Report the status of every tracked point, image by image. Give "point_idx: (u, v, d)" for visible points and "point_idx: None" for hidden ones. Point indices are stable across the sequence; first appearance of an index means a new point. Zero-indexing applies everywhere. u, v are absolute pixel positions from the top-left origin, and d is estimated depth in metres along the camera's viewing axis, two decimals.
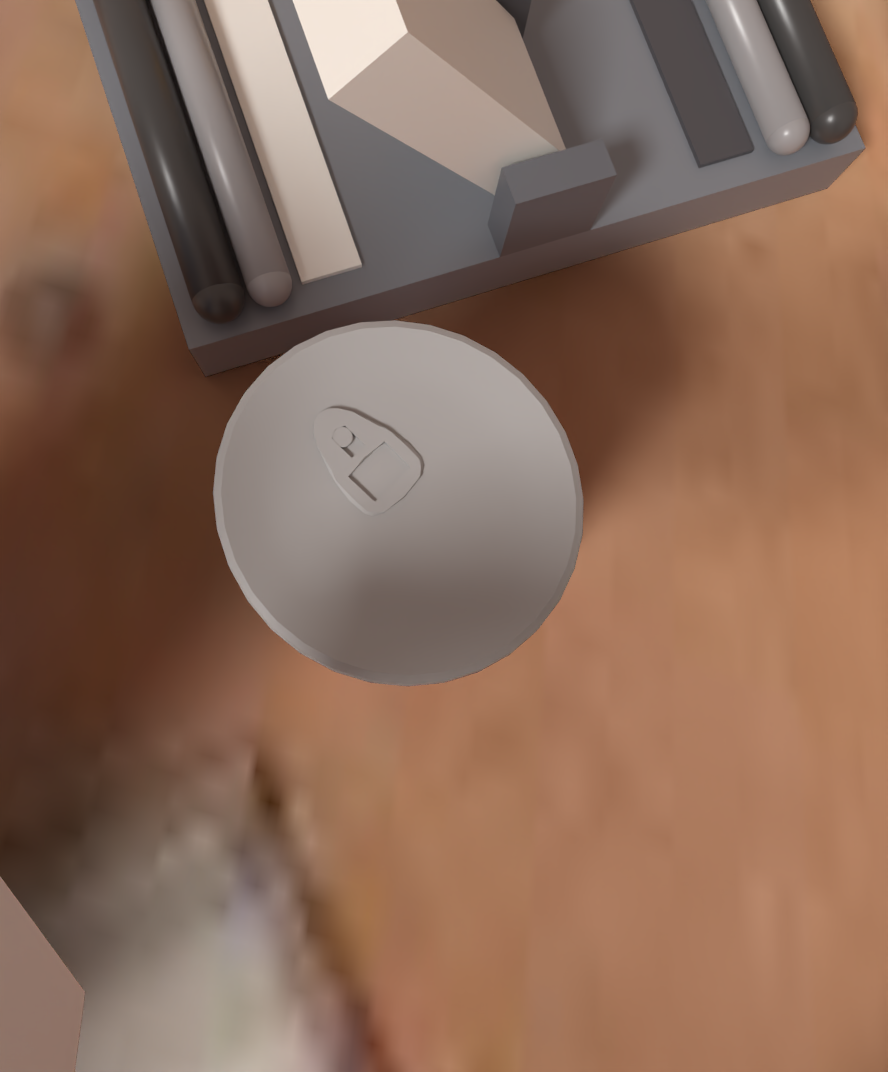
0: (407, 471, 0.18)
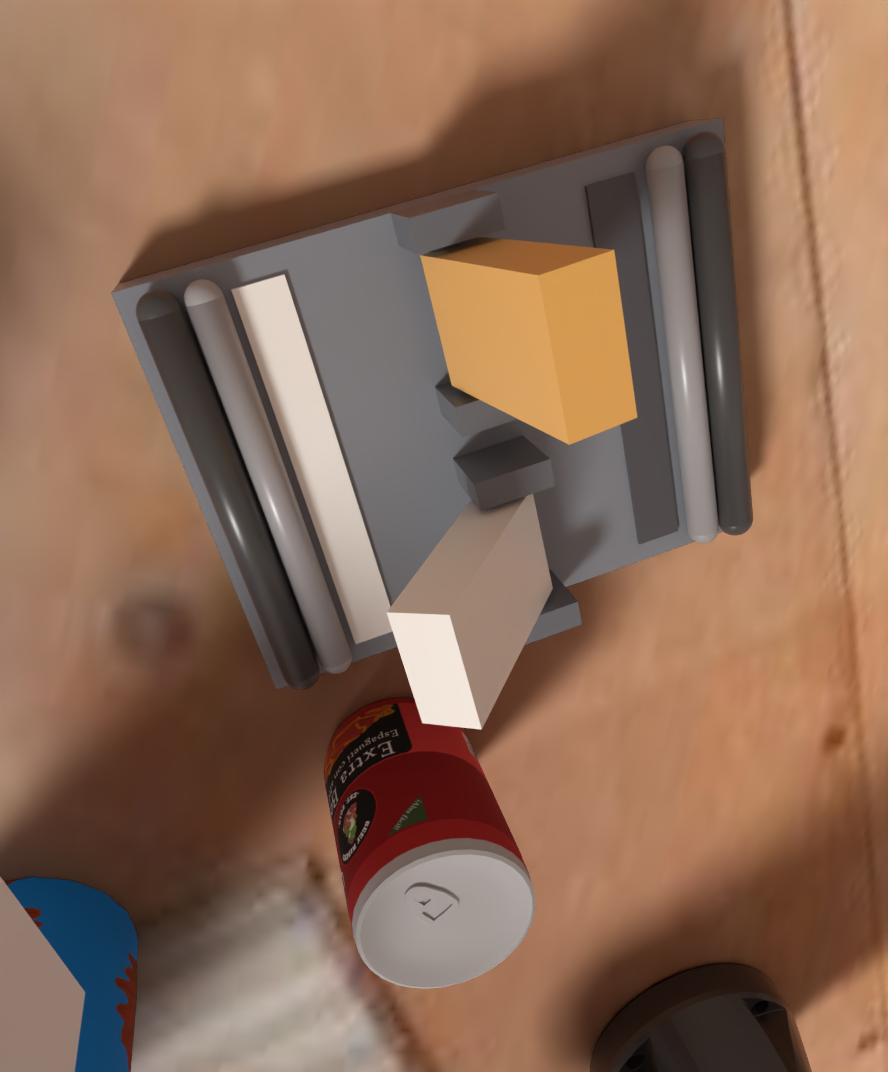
0: (451, 906, 0.34)
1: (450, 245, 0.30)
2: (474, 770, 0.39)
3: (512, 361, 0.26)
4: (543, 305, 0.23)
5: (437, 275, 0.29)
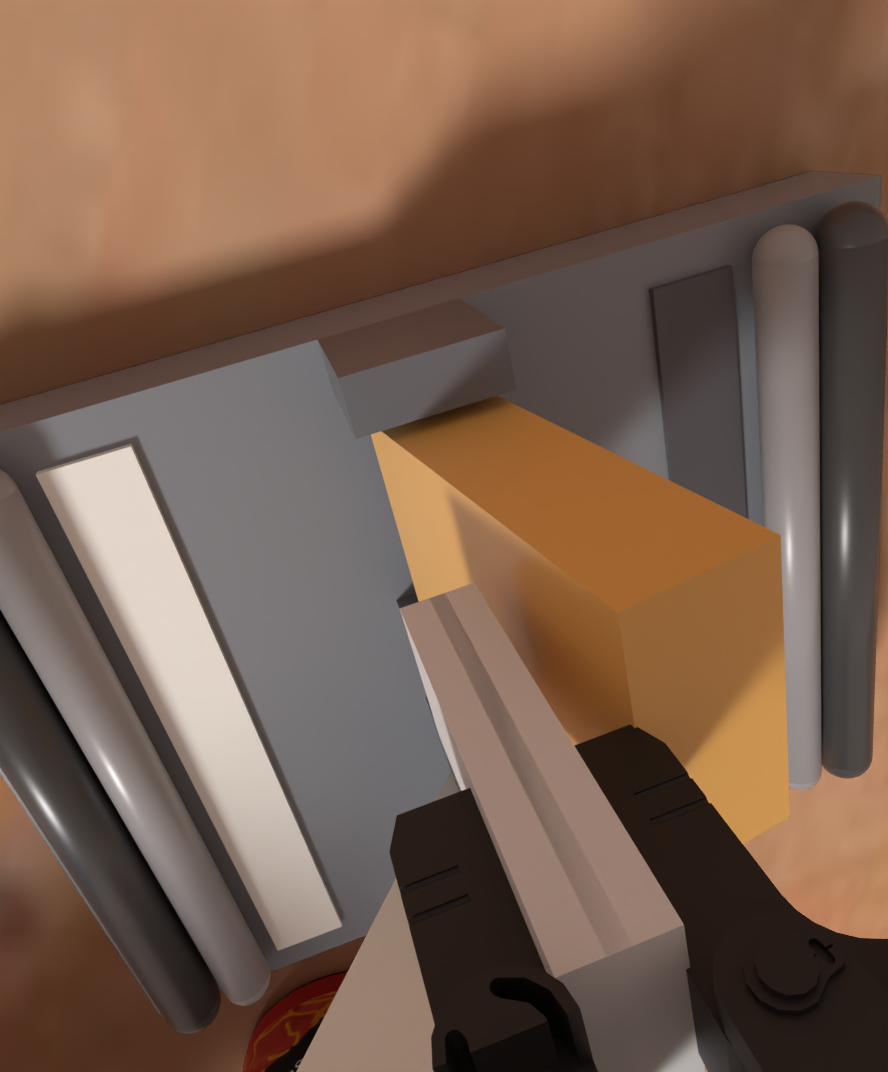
0: None
1: None
2: None
3: (537, 682, 0.13)
4: (622, 664, 0.10)
5: (396, 465, 0.16)
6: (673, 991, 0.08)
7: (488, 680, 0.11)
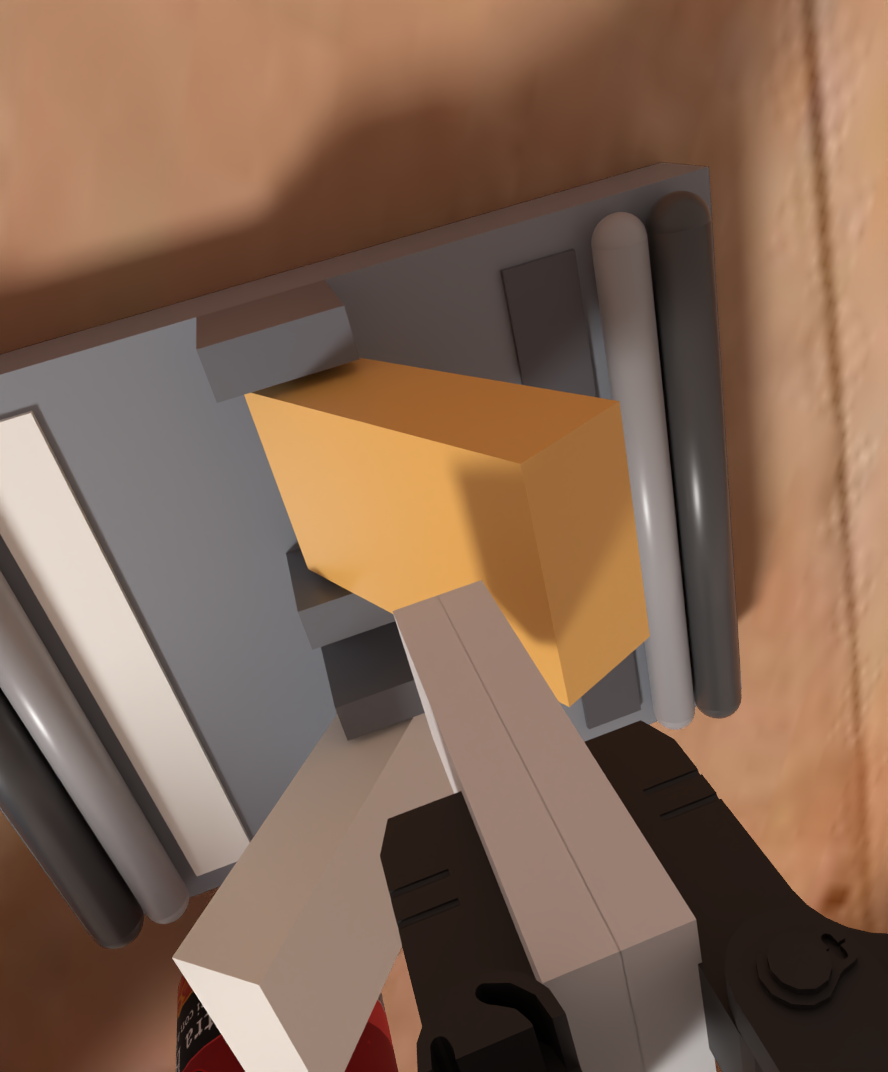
0: None
1: None
2: None
3: (442, 570, 0.16)
4: (526, 508, 0.13)
5: (279, 423, 0.19)
6: (685, 985, 0.08)
7: (480, 683, 0.11)
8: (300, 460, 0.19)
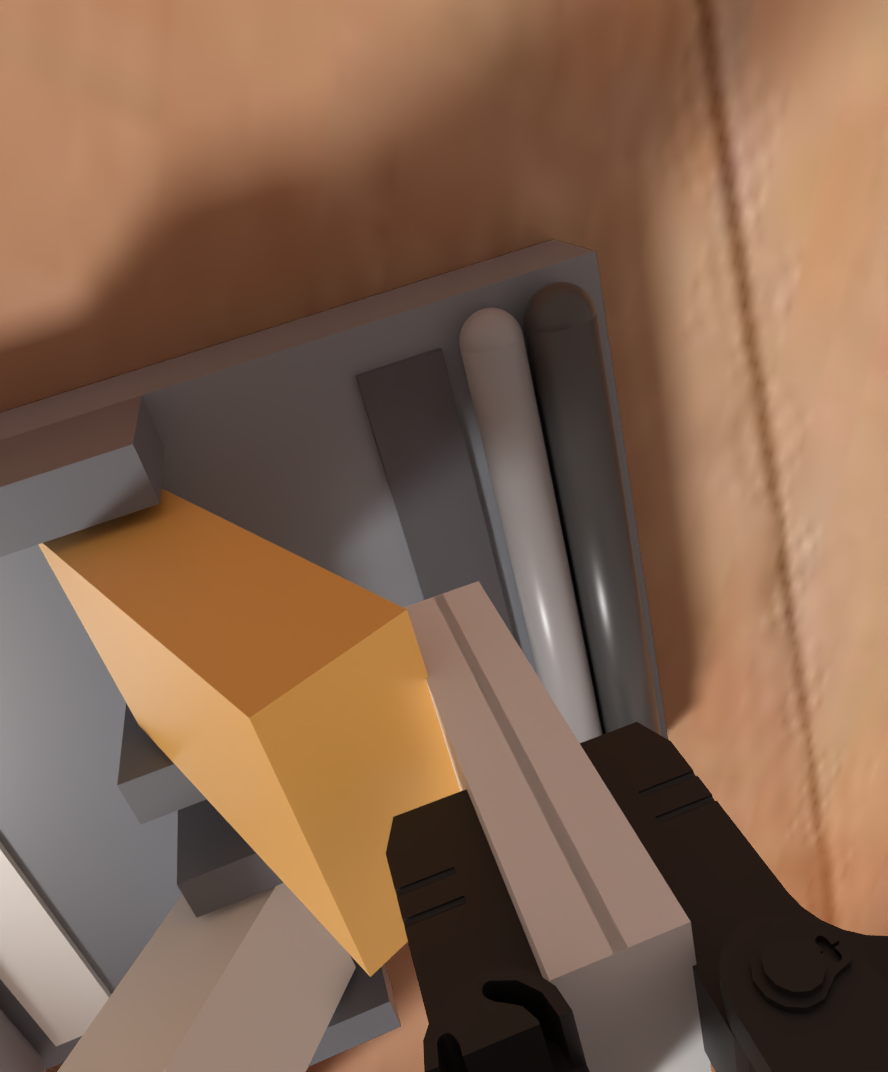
0: None
1: None
2: None
3: (230, 785, 0.13)
4: (269, 765, 0.10)
5: (67, 579, 0.16)
6: (679, 988, 0.08)
7: (485, 681, 0.11)
8: (95, 622, 0.16)
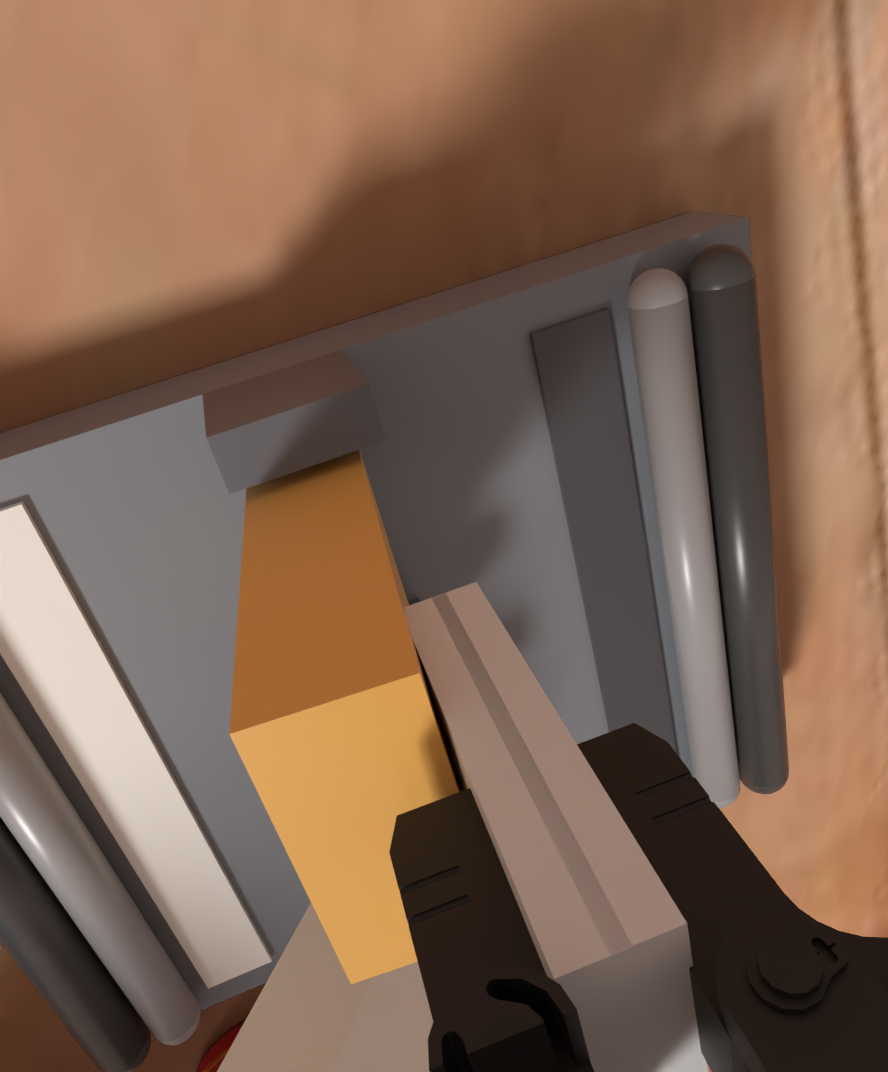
0: None
1: None
2: None
3: None
4: (252, 779, 0.10)
5: None
6: (676, 990, 0.08)
7: (488, 680, 0.11)
8: None
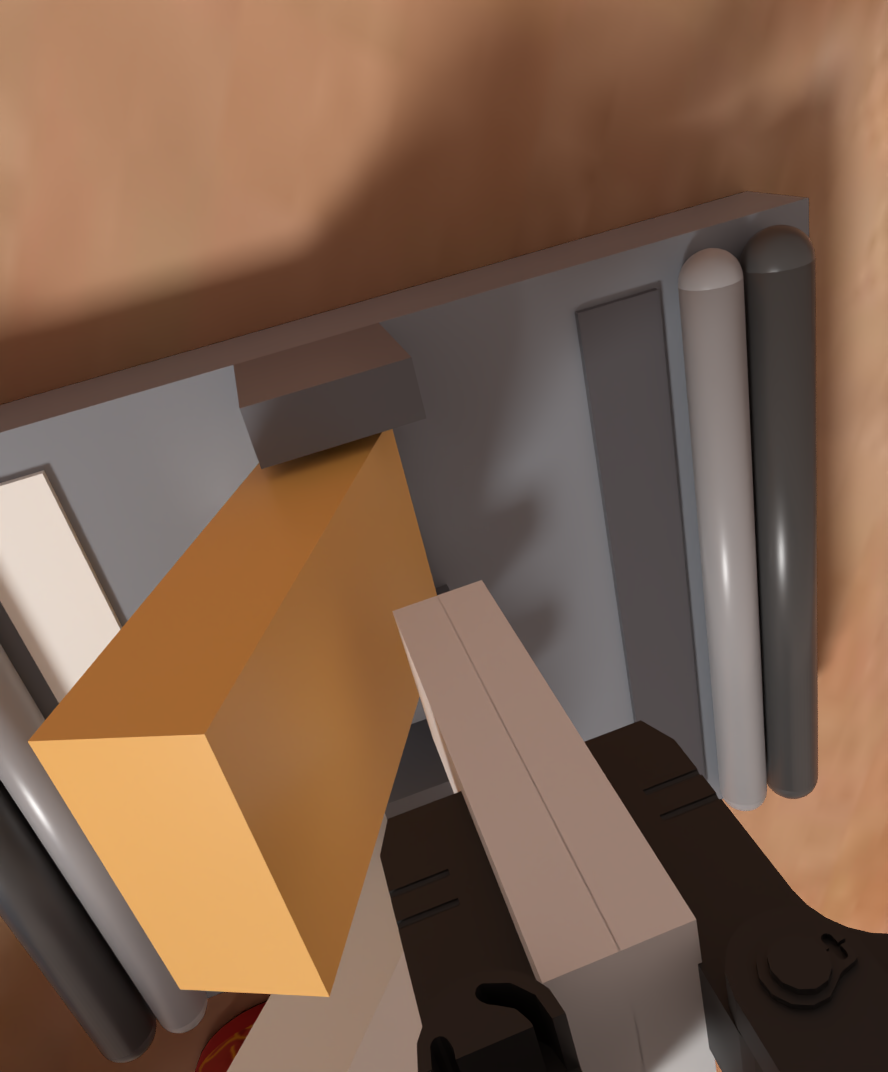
0: None
1: None
2: None
3: None
4: (60, 785, 0.10)
5: None
6: (685, 986, 0.08)
7: (480, 683, 0.11)
8: None
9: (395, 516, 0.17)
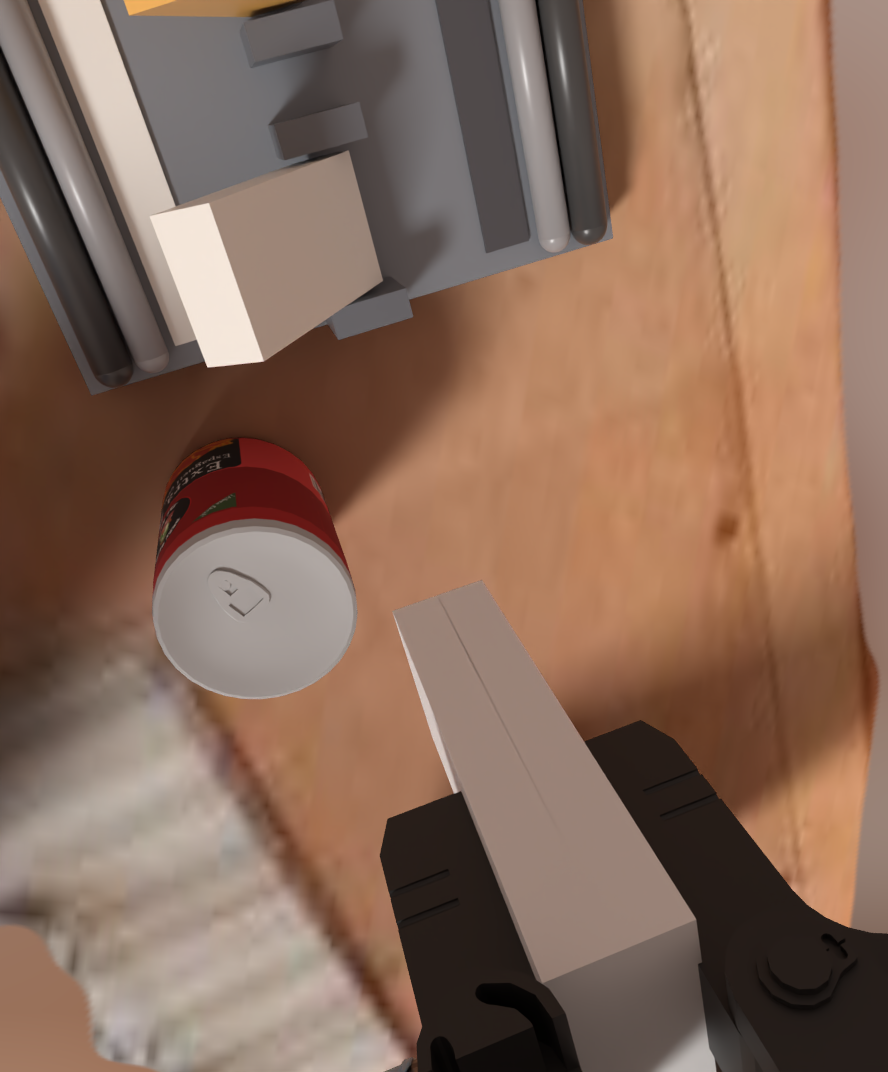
0: (261, 600, 0.32)
1: None
2: (309, 492, 0.37)
3: None
4: None
5: None
6: (685, 986, 0.08)
7: (479, 683, 0.11)
8: None
9: None
